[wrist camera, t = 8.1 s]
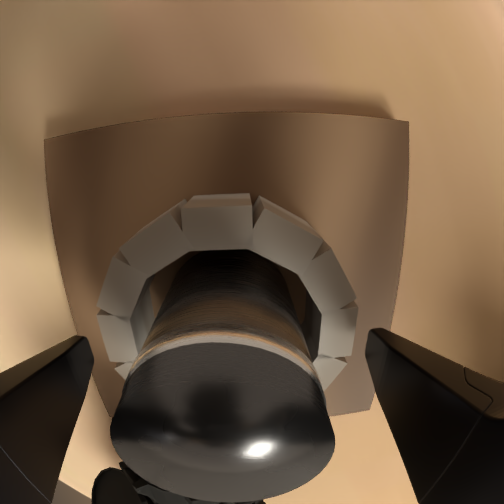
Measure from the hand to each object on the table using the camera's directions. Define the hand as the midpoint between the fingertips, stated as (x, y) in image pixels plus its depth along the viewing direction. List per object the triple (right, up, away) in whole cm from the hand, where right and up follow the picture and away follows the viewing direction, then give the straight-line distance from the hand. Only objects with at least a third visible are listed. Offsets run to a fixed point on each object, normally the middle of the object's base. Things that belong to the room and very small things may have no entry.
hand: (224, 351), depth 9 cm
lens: (0, +1, +3) cm, 3 cm away
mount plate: (0, +1, +4) cm, 4 cm away
